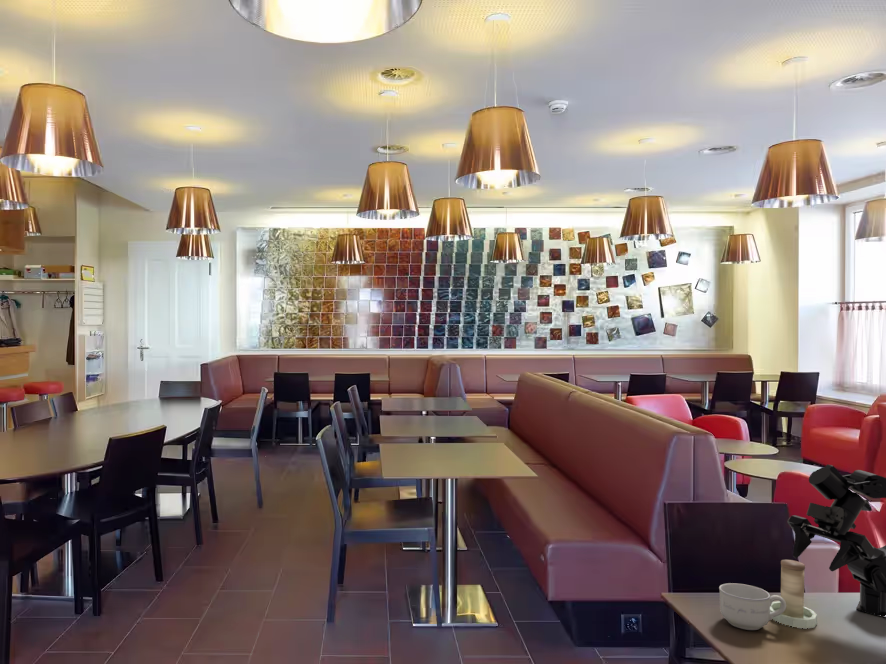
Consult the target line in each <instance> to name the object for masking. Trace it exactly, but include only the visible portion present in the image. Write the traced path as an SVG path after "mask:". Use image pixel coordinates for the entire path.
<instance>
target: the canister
mask: <svg viewBox="0 0 886 664" xmlns="http://www.w3.org/2000/svg"><path fill="white" fill-rule="evenodd" d="M805 569H806V564H804V563H803V562H801V561H797V560H793V559H781V560H780V596H781V597H782V598H783V599H784V600H785V602H786V609H785V611H784V612H783V613H782V614H783V615H786V616H790V617H794V618H804V606H805V602H804V601H805Z"/></svg>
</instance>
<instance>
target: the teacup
mask: <svg viewBox="0 0 886 664" xmlns="http://www.w3.org/2000/svg"><path fill="white" fill-rule="evenodd" d="M718 589H719V610H720V613H721V616H722V617H723V618H724V619H725V620H726V621H727V623H729V625H731V626H733V627H735V628H738V629H741V630H747V631H757V630H760V629H762V628H763V627H765V625H767V624H768V623H769V621H771V620H772V618H773V617H776V616H778V615H780V614H782V613H783V612H784V611H785V609H786V602H785V600H784V599H783V598H782V597H781V595H778V594H773V595H770V593H769V592H768V591H766V590H764V589H763V588H761V587H758V586H755V585H749V584H744V583H733V582H732V583H731V582H728V583H723V584H720V585H719V587H718ZM775 601H780V602H781V607H780V608H779V609H778V610H776V611H774V612H770V606H771V604H772V602H775ZM772 621H773V620H772Z"/></svg>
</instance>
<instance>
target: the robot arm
mask: <svg viewBox="0 0 886 664" xmlns="http://www.w3.org/2000/svg"><path fill="white" fill-rule="evenodd" d="M808 483H809V484H810V485H811V486H812V487H813V488H815V489H816V490H817V492H818V493H820V494H821V495H822V496H823V497H824V499H827V500H829V501H830V500H833V502H832V503H831V505H830V506H827V505H821V504H818V503H817V504H816V503H814V502H809V505H808V507H807V508H808V509H807V511H806V516H808V517H811V518H813V519H814V520H813V522H814V523H815V525H817V526H818V527H817V526H815V525H812V523H811V522H810V520H809V519H808V518H806V517H803V516H800V515H795V514H794V515H791V516H790V517H789V518H788V519H787V524H788V526H789V527H790V528H791V529H792V531H793V532H794V544H793V550H792V555H793V556H792V557H793V558H794V559H798V558H799V557H800V556H801V555H802V554H803V553H804V552H805V550H806V549H807V548H808V547H809V546H810V545H811V544H812V542H813V541H812V539H814V538H815V536H817V537H821V538H824V539H827V540H831V541H834V542H838V543H840V545H839V549H838V551H837V553H836V554H835V555H834V558H833V559H832V561H831V563H830V565H829V567H828V569H829V570H830V572H834V571H837V570H839V569H841V568H842V567H845V566H847V570H849V571H850V572H851V575H852V579H854V580H856V581H858V582H860V583H859V602H858V603H857V606H856V608H855V609H856V611H858V612H863V613H867V614H871V615H874V614H875V615H874V616H877V615H881V616H885V615H886V545H883V546H882V547H878V548H877V547H875V546H873V545H872V544H871V542H870V541H869V539H868V538H867V536H866V535H865V534H862V533H859V532H858V533H857V532H855V531H851V529H852V530H855V529H856V528H857V525H856V524H855V521H856V520H857V518H858V517H859V515H860V513H861V512H862V511H863V512H872V510H873V508H872V506H871V504H870V501H869V499H864V498H863V497H862V496H861V495H863V496H866V497H869V498H872V499H886V477H885V476H882V475H879V474H876V473H872V472H868V471H865V470H861V469H856V470H854V471H853V472H852V473H851V474H845V475H842V474H841V473H840V472H839V470H838V469H837V468H836V467H835V466H834V465H832V464H826V466H824V467H821V468H818V469H817V470H815V471H812V473H811V474H809V476H808ZM881 616H880V617H881Z"/></svg>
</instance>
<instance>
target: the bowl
mask: <svg viewBox="0 0 886 664" xmlns="http://www.w3.org/2000/svg"><path fill="white" fill-rule="evenodd" d="M780 607H781V602H780V601H779V600H775V601H773V602H772V604H771V606H770V612H774V611H776V610H778V609H779V608H780ZM772 619H773V620H772V621H774V620H775V621H774V622H776V621H777V622H776V623H778V622H779V623H778V624H780V623H782V624H781V625H783V624H785V625H784V626H786V625H789V626H788V627H790V626H792V627H791V628H793V627H797V629H802V628H803V629H804V630H808V629H812V628H813V629H814V628H815V627H816V626H817V624H818V614H817V613H816V612H815V611H814V610H813V609H810V608H808V607H806V606H805V605H804V618H794V617H790V616H786V615H783V614H780V615H778V616H776V617H773V618H772ZM807 628H808V629H807Z"/></svg>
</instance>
